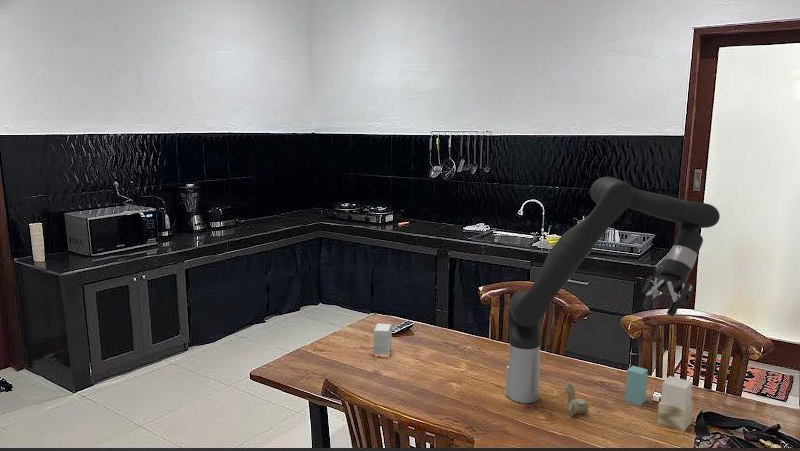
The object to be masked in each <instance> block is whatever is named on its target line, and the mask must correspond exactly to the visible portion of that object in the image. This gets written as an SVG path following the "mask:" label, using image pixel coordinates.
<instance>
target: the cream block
mask: <svg viewBox="0 0 800 451" xmlns="http://www.w3.org/2000/svg"><path fill="white" fill-rule="evenodd" d="M661 386H662V387H661V388H662V389H661V400H660V401H661V403H663V404H666V405H670V406H673V407H676V408H680V409H683V410H685V408H686V407H687V406H688V405H689V404H690V402H692V388H693V381H691V380H687V379H683V378H678V377H675V376H671V375H669V376H668V377H667V378H666V379H665V380H664V381H663V382H662V385H661Z"/></svg>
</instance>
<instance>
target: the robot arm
mask: <svg viewBox="0 0 800 451" xmlns="http://www.w3.org/2000/svg"><path fill="white" fill-rule="evenodd" d="M589 192H590V193H589V194H590V197H591V200H593V202H594V203H595V204H596V205H595V207H594V208H593V209H592V211H591V212H590V213H589V214H588V215H587V216H586V217H585V218H584V219H583V220H581V221H580V222H579V223H577V224H576V225H574V226H572V227H571V228H569V229H568V230H567V231H565V232H564V233H563V234H562V235H561V236H560V237H559V239H558V240H557V241H556V242H555V243H554V245H553V246H552V248H551V249H550V251H549V252H548V254H547V255H546V258H545V260H544V262H543V264H542V266H541V267H542V268H541V270H540V273H539V274H538V277H537V279H536V280H535V281H534V282H533V284H532V286H531V287H529V289H528V290H519V291H516V292H514V293H513V294H512V295H511V297H510V298H509V301H508V308H507V309H508V310H507V312H508V314H507V317H508V318H507V320H508V321H507V324H508V326H507V327H508V328H507V329H508V339H509V340H508V341H509V343H508V344H509V345H508V346H509V347H508V350H509V351H508V352H509V354H508V365H507V366H506V368H505V396H506V397H508V396H509V397H508V398H509V399H510V398H511V399H510V400H512V401H513V400H514V402H515V403H516V402H517V403H519V402H520V404H532V403H535V402H537V401H538V400H539V398H540V365H541V364H540V363H541V362H540V361H541V359H540V357H541V335H540V329H539V322H540V321H541V320H542V319H543V317H544V315H545V313H546V312H547V310H549V307H550V306H551V304H552V302H553V301H554V299H555V297H556V296H557V294H558V293H559V292H560V291H561V289H562V288H563V287H564V285H565V284H566V283H567V282H568V280H570V278H571V277H572V276H573V274H574V273H575V272H576V270H577V269H578V268H579V266H580V265H581V264H582V263H583V261H584V260H585V258H587V256H588V255H589V254H590V252H591V250H592V249H593V248H594V246H596V244H597V243H598V241H599V240H600V239H601V238H602V237H603V235H604V233H606V231H607V230H608V229H609V228H610V227H611V226H612V224H614V223H615V221H616V220H618V218H619V217H620V216H621V215H622V214H623V213H624V212H625V211H626V210H627V209H630V210H634V211H637V212H641V213H643V214H646V215H648V216H652V217H655V218H658V219H661V220H665V221H669V222H674V223H679V226H678V234H677V236H676V239H675V241H674V242H673V245H672V248H671V249H670V250H669V252H668V253H667V256H666V258H665V260H664V263H663V265H662V267H661V270H660V275H659V277H654V276H653V275H649V277H648V279H647V281H646V282H645V284H644V286H643V288H642V290H641V293H643V294H644V296H645V298H644V301H643V303H642V308H643V309H645V311H649V310H650V309H651V306H652V304H653V302H654V299H655V298H656V297H658V296H661V295H664V296H666V295H667V296H670V297H671V299H672V301H671V303H670V304H669V307H668V309H667V311H666V314H667V315H668V316H669V317H674V316H675V315H676V314H677V311H678V309H679V307H680V306H681V305H685V306H687V305H688V303H689V302H690V299H691V295H692V292H693V291H694V286H693V285H692V284H690V283H689V282H687V281H688V278H689V277H690V274H691V272H692V270H693V268H694V266H695V263H696V261H697V256H698V255H699V252H700V250H701V248H702V245H703V242H704V238H703V236H702V235H701V234H699V233H698V231H699V229H704V228H705V229H709V228H712V227H714V226H716V225H717V224H718V222H720V221H719V220H720V218H721V216H720V212H719V210H718V208H716V207H715V206H714V205H713V204H709V203H706V202H699V201H690V200H683V199H680V198H677V197H673V196H670V195H669V196H668V195H665V194H660V193H656V192H652V191H646V190H644V189H640V188H635V187H633V186H631V185H630V184H629V183H628V182H626V181H623V180H621V179H618V178H615V177H613V176H602V177H600V178H598V179H596V180H595V181H594V182H593V183H592V185H591V187H590V191H589ZM680 291H681V294H680Z"/></svg>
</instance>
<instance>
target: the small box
mask: <svg viewBox="0 0 800 451" xmlns="http://www.w3.org/2000/svg"><path fill="white" fill-rule="evenodd" d="M392 325H393V324H391V323H376V326H375V328H374V330H373V353H374V354H389V352H390V349H391V347H393V343H392V342H393V340H392V337H393V336H392V333H393V332H392V330H393V329H392Z"/></svg>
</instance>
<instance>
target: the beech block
mask: <svg viewBox="0 0 800 451" xmlns="http://www.w3.org/2000/svg"><path fill="white" fill-rule="evenodd" d="M657 406H658V407H657V424H659V425H663V426H665V427H668V428H669V427H670V428H673V429H675V430H677V431H678V430H679V431H682V432H685V431H686V429H687V428H688V427H689V426H690V425H691V423H692V420H693V406H694V402H693V401H691V402H690V404H689V405H688V406H687V407H686V408H685V410H683V409H680V408H676V407H673V406H670V405H666V404H663V403H661V400H660V401H659V402H658V405H657Z"/></svg>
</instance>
